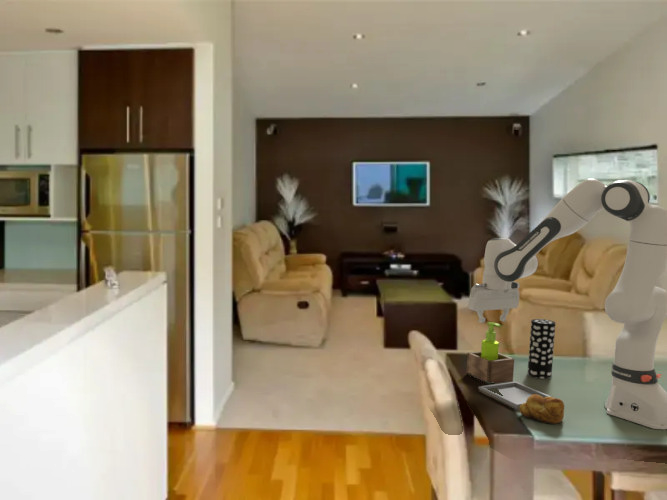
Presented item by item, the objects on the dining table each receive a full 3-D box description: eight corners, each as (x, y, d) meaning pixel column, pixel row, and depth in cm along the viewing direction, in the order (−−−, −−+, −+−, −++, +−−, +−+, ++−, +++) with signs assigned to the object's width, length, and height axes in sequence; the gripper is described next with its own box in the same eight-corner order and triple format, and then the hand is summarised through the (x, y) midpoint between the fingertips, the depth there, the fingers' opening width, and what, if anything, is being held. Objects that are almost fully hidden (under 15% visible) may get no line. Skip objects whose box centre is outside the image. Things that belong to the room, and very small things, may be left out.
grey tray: (555, 403, 196) (555, 398, 196) (516, 410, 189) (516, 404, 189) (515, 386, 212) (515, 381, 212) (478, 391, 205) (478, 386, 205)
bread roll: (515, 418, 183) (517, 391, 182) (524, 409, 191) (526, 383, 190) (560, 428, 176) (562, 401, 175) (568, 418, 184) (570, 392, 183)
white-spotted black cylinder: (548, 372, 230) (552, 319, 228) (553, 379, 222) (558, 324, 220) (525, 371, 231) (529, 318, 229) (530, 377, 223) (534, 323, 221)
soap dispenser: (492, 381, 217) (496, 325, 215) (476, 376, 222) (479, 321, 220) (502, 378, 220) (506, 323, 218) (486, 373, 226) (489, 320, 224)
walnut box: (512, 381, 218) (514, 358, 217) (488, 384, 213) (489, 361, 212) (490, 371, 229) (491, 350, 228) (466, 374, 224) (467, 352, 223)
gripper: (477, 285, 210) (474, 325, 212) (523, 283, 219) (520, 321, 221) (466, 282, 216) (463, 321, 217) (511, 280, 225) (508, 318, 226)
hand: (492, 321), depth 219 cm, fingers open, 8 cm apart
